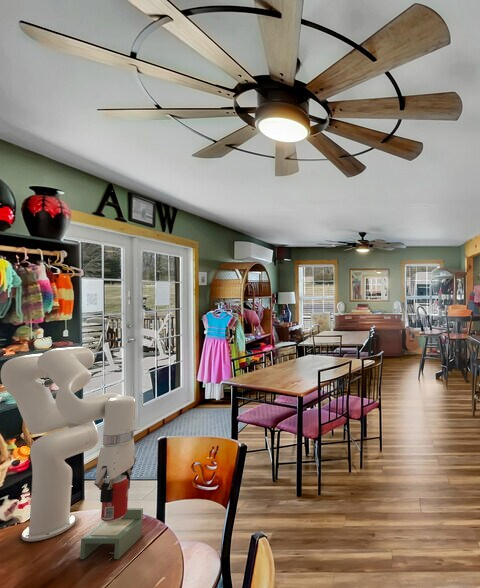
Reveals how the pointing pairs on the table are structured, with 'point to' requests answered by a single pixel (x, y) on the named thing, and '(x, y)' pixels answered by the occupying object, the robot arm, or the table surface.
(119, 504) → the beverage can
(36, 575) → the table surface
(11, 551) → the table surface
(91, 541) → the green stand
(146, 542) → the table surface
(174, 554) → the table surface
